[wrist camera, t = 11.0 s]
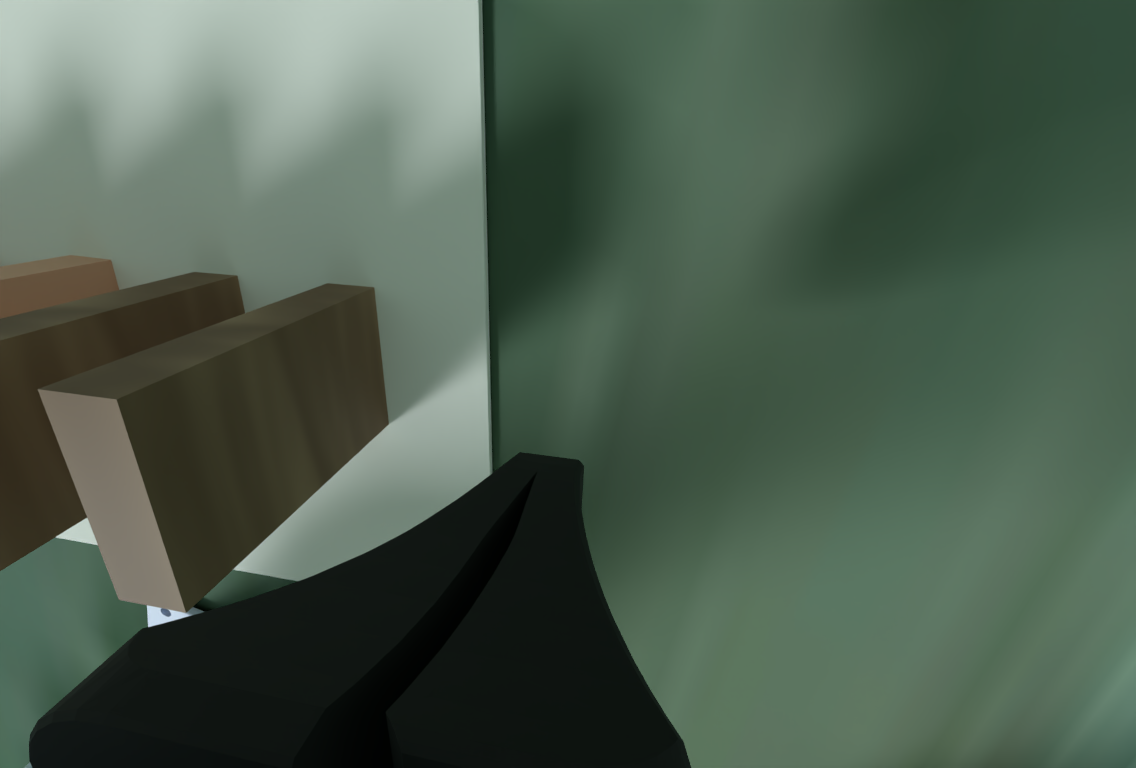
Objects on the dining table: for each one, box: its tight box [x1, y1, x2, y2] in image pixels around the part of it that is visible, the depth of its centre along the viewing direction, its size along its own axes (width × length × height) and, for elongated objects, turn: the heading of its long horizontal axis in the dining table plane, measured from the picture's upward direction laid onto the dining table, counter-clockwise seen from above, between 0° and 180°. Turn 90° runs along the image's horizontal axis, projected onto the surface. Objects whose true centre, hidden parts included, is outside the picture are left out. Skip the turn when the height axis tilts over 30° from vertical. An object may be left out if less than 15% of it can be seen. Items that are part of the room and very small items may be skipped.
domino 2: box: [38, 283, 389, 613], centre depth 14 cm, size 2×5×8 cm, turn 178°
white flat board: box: [0, 0, 492, 581], centre depth 19 cm, size 28×21×1 cm
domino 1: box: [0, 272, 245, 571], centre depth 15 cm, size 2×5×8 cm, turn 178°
